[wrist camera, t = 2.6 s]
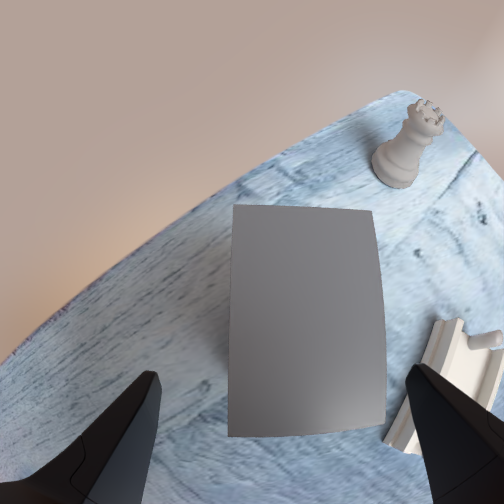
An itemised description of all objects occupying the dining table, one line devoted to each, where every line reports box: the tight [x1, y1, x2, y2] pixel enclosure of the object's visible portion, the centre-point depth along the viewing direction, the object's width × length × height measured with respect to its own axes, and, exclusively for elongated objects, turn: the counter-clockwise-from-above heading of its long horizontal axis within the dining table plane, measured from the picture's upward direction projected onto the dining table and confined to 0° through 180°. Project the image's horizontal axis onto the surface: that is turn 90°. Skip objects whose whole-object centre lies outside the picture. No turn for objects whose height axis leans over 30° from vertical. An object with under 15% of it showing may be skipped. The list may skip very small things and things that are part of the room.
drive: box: [228, 205, 387, 437], centre depth 12 cm, size 6×4×12 cm, turn 179°
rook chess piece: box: [371, 99, 445, 189], centre depth 20 cm, size 4×4×8 cm
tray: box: [383, 318, 504, 458], centre depth 15 cm, size 10×8×4 cm
